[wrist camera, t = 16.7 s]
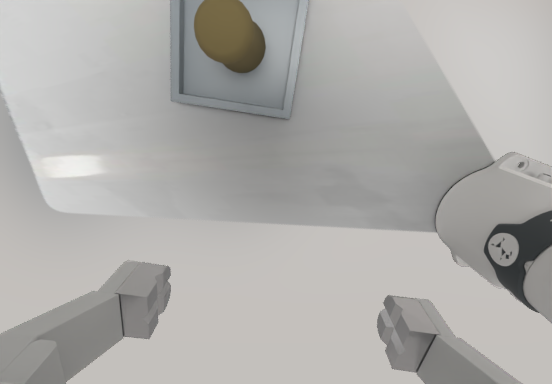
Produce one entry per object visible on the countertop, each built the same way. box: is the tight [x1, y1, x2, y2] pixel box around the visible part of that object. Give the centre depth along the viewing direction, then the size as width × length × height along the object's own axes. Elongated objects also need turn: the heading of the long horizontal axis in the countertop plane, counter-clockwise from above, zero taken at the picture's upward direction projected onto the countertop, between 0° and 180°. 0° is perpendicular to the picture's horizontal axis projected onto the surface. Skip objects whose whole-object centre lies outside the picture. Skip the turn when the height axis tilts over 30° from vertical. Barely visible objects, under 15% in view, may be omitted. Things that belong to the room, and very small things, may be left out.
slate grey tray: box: [170, 0, 309, 119], centre depth 31 cm, size 15×15×2 cm
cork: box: [194, 0, 266, 73], centre depth 27 cm, size 6×6×11 cm
